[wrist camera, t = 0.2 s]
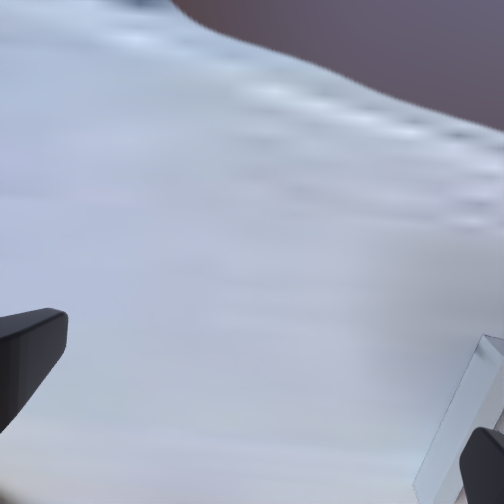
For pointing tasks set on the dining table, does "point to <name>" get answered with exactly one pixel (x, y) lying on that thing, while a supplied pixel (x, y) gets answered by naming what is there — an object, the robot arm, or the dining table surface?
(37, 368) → the robot arm
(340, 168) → the dining table surface
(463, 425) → the white angled frame
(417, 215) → the dining table surface
